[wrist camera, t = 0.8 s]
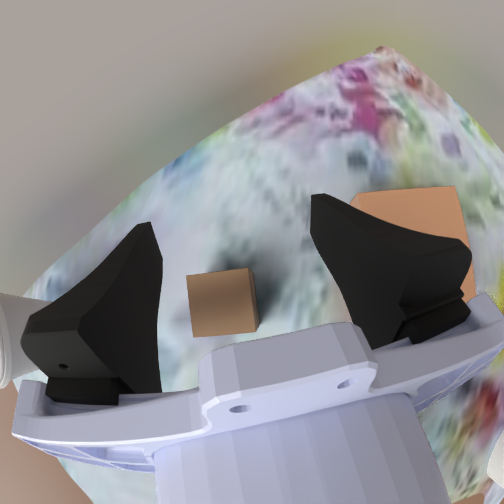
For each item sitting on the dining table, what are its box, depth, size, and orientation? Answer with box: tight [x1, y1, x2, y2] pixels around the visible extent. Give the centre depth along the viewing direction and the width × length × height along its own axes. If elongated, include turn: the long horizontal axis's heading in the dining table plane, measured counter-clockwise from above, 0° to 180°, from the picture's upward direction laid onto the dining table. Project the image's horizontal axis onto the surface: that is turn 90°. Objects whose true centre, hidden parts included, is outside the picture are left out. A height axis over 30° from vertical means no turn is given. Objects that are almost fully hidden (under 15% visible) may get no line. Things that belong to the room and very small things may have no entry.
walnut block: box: [186, 268, 260, 337], centre depth 24 cm, size 5×5×5 cm
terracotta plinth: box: [350, 186, 476, 303], centre depth 24 cm, size 12×12×3 cm
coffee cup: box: [0, 293, 52, 388], centre depth 20 cm, size 10×10×15 cm
